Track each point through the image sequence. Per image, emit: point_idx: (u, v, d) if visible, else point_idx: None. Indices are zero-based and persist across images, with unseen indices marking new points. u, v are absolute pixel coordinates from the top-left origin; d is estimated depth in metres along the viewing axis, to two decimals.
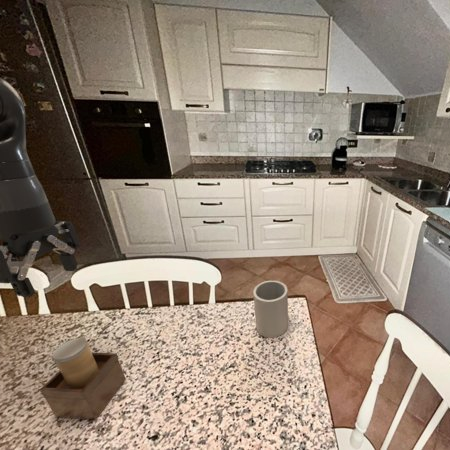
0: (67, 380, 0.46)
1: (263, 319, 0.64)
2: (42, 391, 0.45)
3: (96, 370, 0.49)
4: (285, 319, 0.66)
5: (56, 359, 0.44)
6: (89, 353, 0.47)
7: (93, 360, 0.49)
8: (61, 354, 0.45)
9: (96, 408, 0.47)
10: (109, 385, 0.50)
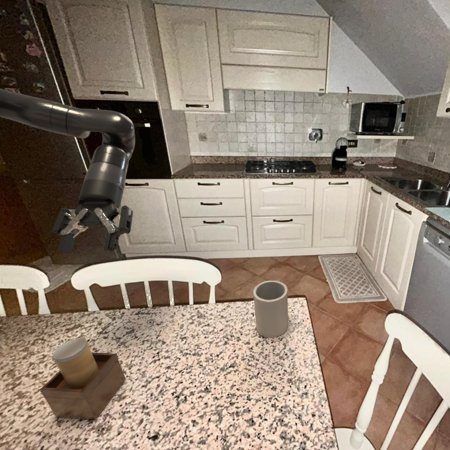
0: (67, 380, 0.46)
1: (263, 319, 0.64)
2: (42, 391, 0.45)
3: (96, 370, 0.49)
4: (285, 319, 0.66)
5: (56, 359, 0.44)
6: (89, 353, 0.47)
7: (93, 360, 0.49)
8: (61, 354, 0.45)
9: (96, 408, 0.47)
10: (109, 385, 0.50)
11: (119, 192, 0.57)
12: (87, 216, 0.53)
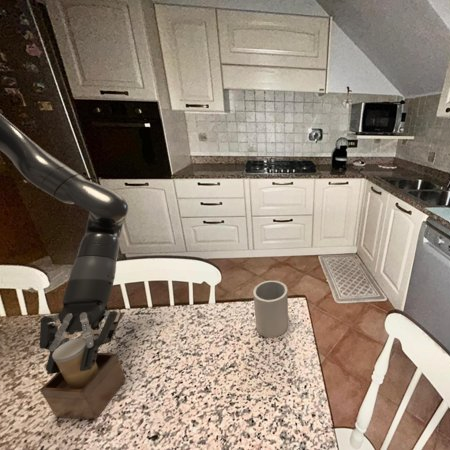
0: (67, 380, 0.46)
1: (263, 319, 0.64)
2: (42, 391, 0.45)
3: (96, 370, 0.49)
4: (285, 319, 0.66)
5: (56, 359, 0.44)
6: None
7: None
8: (61, 354, 0.45)
9: (96, 408, 0.47)
10: (109, 385, 0.50)
11: (108, 287, 0.52)
12: (71, 322, 0.48)
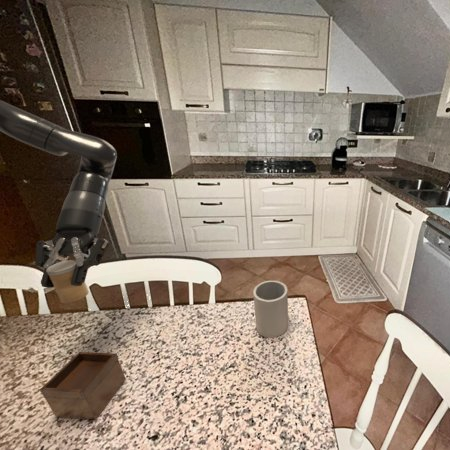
0: (59, 294, 0.52)
1: (263, 319, 0.64)
2: (42, 391, 0.45)
3: (86, 290, 0.55)
4: (285, 319, 0.66)
5: (49, 272, 0.50)
6: None
7: None
8: (54, 269, 0.51)
9: (96, 408, 0.47)
10: (109, 385, 0.50)
11: (97, 219, 0.58)
12: (64, 246, 0.54)
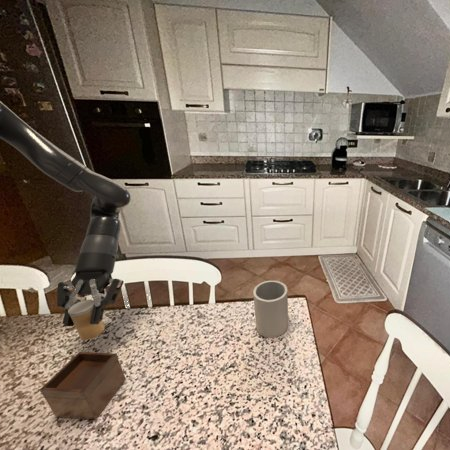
0: (79, 332, 0.57)
1: (263, 319, 0.64)
2: (42, 391, 0.45)
3: (102, 326, 0.60)
4: (285, 319, 0.66)
5: (71, 313, 0.55)
6: None
7: None
8: (75, 310, 0.56)
9: (96, 408, 0.47)
10: (109, 385, 0.50)
11: (112, 260, 0.63)
12: (82, 287, 0.59)
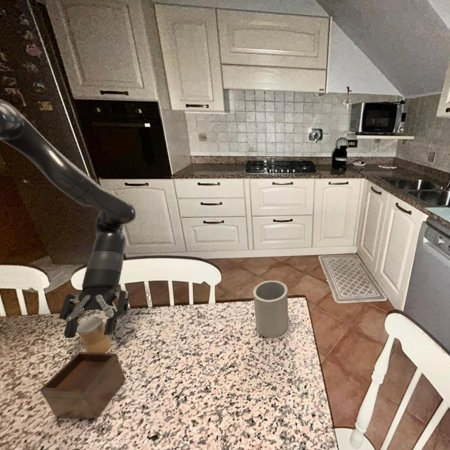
0: (87, 349, 0.59)
1: (263, 319, 0.64)
2: (42, 391, 0.45)
3: (109, 343, 0.62)
4: (285, 319, 0.66)
5: (79, 332, 0.57)
6: (104, 329, 0.61)
7: (107, 335, 0.62)
8: (83, 329, 0.58)
9: (96, 408, 0.47)
10: (109, 385, 0.50)
11: (117, 275, 0.65)
12: (89, 302, 0.61)
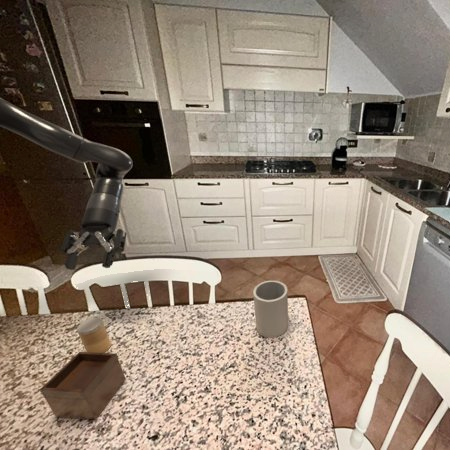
0: (87, 349, 0.59)
1: (263, 319, 0.64)
2: (42, 391, 0.45)
3: (109, 343, 0.62)
4: (285, 319, 0.66)
5: (79, 332, 0.57)
6: (104, 329, 0.61)
7: (107, 335, 0.62)
8: (83, 329, 0.58)
9: (96, 408, 0.47)
10: (109, 385, 0.50)
11: (115, 217, 0.69)
12: (88, 238, 0.65)
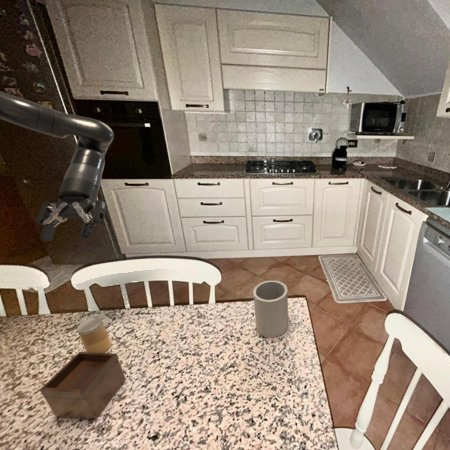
0: (87, 349, 0.59)
1: (263, 319, 0.64)
2: (42, 391, 0.45)
3: (109, 343, 0.62)
4: (285, 319, 0.66)
5: (80, 332, 0.57)
6: (104, 329, 0.61)
7: (107, 335, 0.62)
8: (83, 329, 0.58)
9: (96, 408, 0.47)
10: (109, 385, 0.50)
11: (94, 188, 0.66)
12: (65, 209, 0.62)
